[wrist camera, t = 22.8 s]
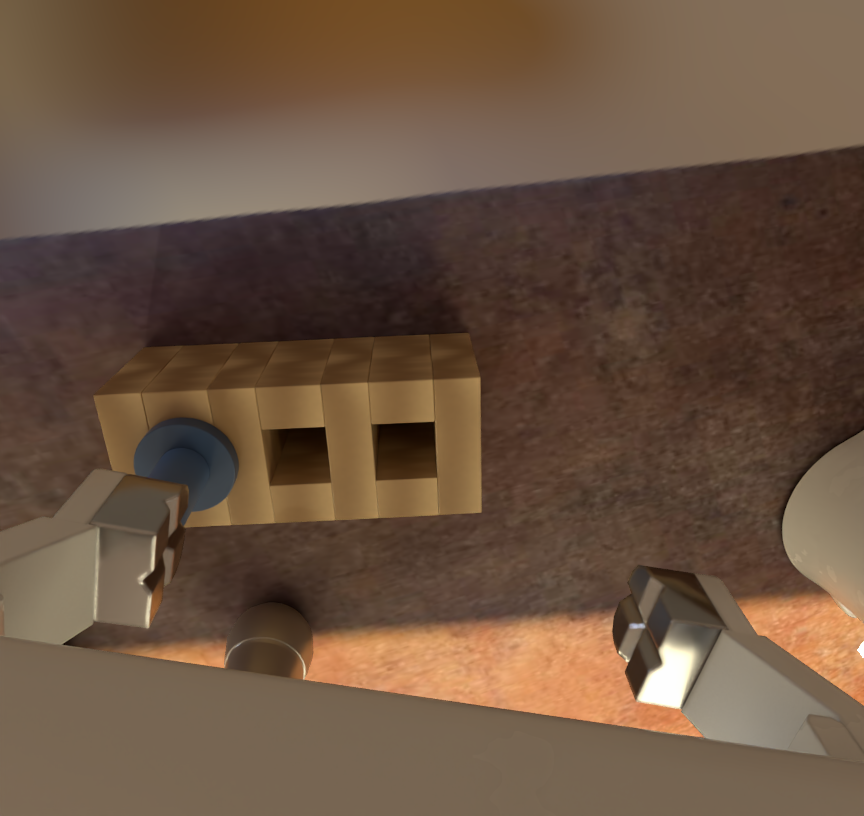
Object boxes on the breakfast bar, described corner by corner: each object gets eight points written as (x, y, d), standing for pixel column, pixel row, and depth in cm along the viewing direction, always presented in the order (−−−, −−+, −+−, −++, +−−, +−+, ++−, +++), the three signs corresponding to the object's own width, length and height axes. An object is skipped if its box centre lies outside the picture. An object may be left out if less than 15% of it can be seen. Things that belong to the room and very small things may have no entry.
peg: (253, 375, 44) (196, 477, 32) (265, 453, 46) (215, 575, 34) (164, 379, 44) (74, 482, 32) (180, 457, 46) (102, 581, 34)
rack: (468, 332, 45) (480, 376, 38) (470, 451, 49) (481, 513, 42) (143, 347, 45) (92, 395, 38) (169, 465, 49) (127, 530, 41)
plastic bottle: (301, 582, 53) (246, 836, 35) (328, 648, 56) (290, 915, 38) (221, 600, 54) (126, 860, 35) (252, 665, 56) (177, 936, 38)
